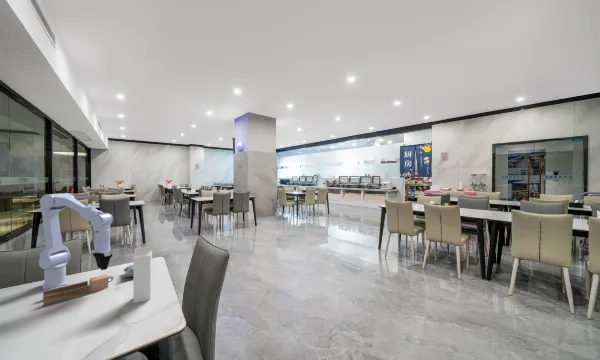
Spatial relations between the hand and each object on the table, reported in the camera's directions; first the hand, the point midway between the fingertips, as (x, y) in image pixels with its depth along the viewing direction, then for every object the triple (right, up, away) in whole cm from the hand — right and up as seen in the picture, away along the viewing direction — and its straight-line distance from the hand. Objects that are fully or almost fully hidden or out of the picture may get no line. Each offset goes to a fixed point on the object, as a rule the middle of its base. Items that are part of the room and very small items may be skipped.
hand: (102, 268), depth 112 cm
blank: (-1, -9, -1) cm, 9 cm away
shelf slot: (-8, -9, -9) cm, 15 cm away
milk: (+26, -9, -10) cm, 29 cm away
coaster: (-6, -9, +7) cm, 13 cm away
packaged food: (+2, -10, +15) cm, 18 cm away
